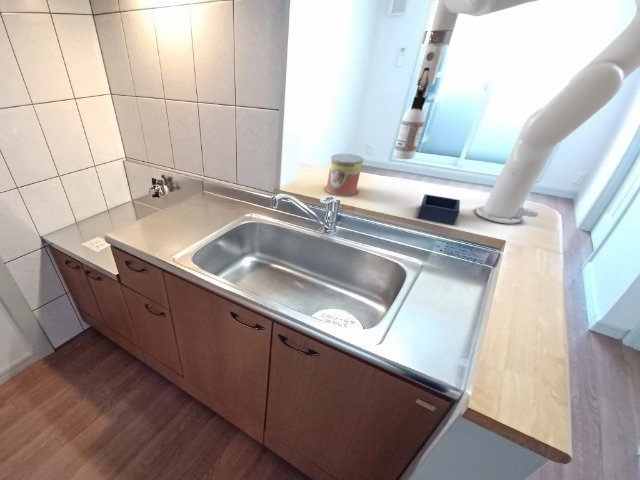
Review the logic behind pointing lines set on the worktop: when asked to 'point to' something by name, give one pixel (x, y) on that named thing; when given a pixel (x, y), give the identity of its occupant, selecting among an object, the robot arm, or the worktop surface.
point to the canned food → (344, 174)
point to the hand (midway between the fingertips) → (416, 110)
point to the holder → (439, 209)
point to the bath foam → (410, 133)
